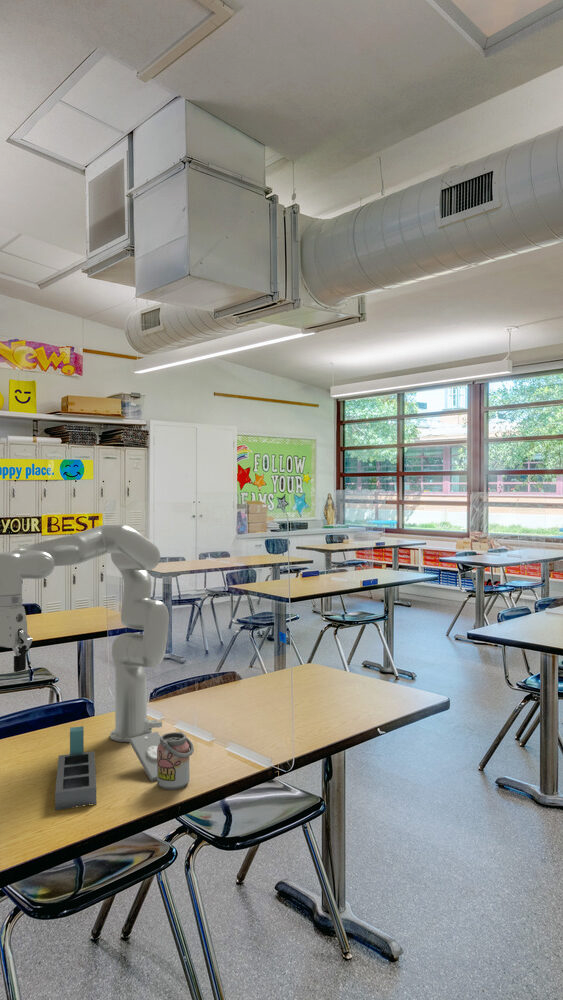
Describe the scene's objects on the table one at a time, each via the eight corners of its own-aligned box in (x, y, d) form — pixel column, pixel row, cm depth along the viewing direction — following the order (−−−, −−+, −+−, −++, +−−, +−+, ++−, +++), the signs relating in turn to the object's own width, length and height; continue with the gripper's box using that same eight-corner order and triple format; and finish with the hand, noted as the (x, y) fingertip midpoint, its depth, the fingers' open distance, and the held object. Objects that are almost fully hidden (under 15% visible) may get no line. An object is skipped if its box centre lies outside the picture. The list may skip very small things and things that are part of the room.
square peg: (83, 758, 177) (83, 726, 177) (83, 763, 174) (83, 730, 174) (70, 759, 176) (70, 727, 176) (69, 764, 173) (69, 731, 173)
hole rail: (94, 765, 171) (94, 751, 172) (96, 804, 149) (96, 787, 149) (58, 770, 169) (58, 755, 169) (55, 810, 146) (55, 793, 146)
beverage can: (199, 780, 161) (199, 733, 162) (181, 794, 154) (181, 745, 154) (169, 775, 165) (169, 729, 165) (150, 788, 157) (150, 740, 158)
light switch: (152, 776, 160) (130, 735, 170) (147, 793, 162) (125, 752, 172) (181, 767, 166) (158, 728, 176) (176, 783, 168) (153, 744, 178)
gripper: (42, 601, 159) (42, 669, 158) (-5, 597, 167) (-5, 662, 166) (18, 605, 152) (18, 676, 152) (-30, 601, 160) (-30, 668, 159)
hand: (6, 668), depth 159 cm, fingers open, 9 cm apart
